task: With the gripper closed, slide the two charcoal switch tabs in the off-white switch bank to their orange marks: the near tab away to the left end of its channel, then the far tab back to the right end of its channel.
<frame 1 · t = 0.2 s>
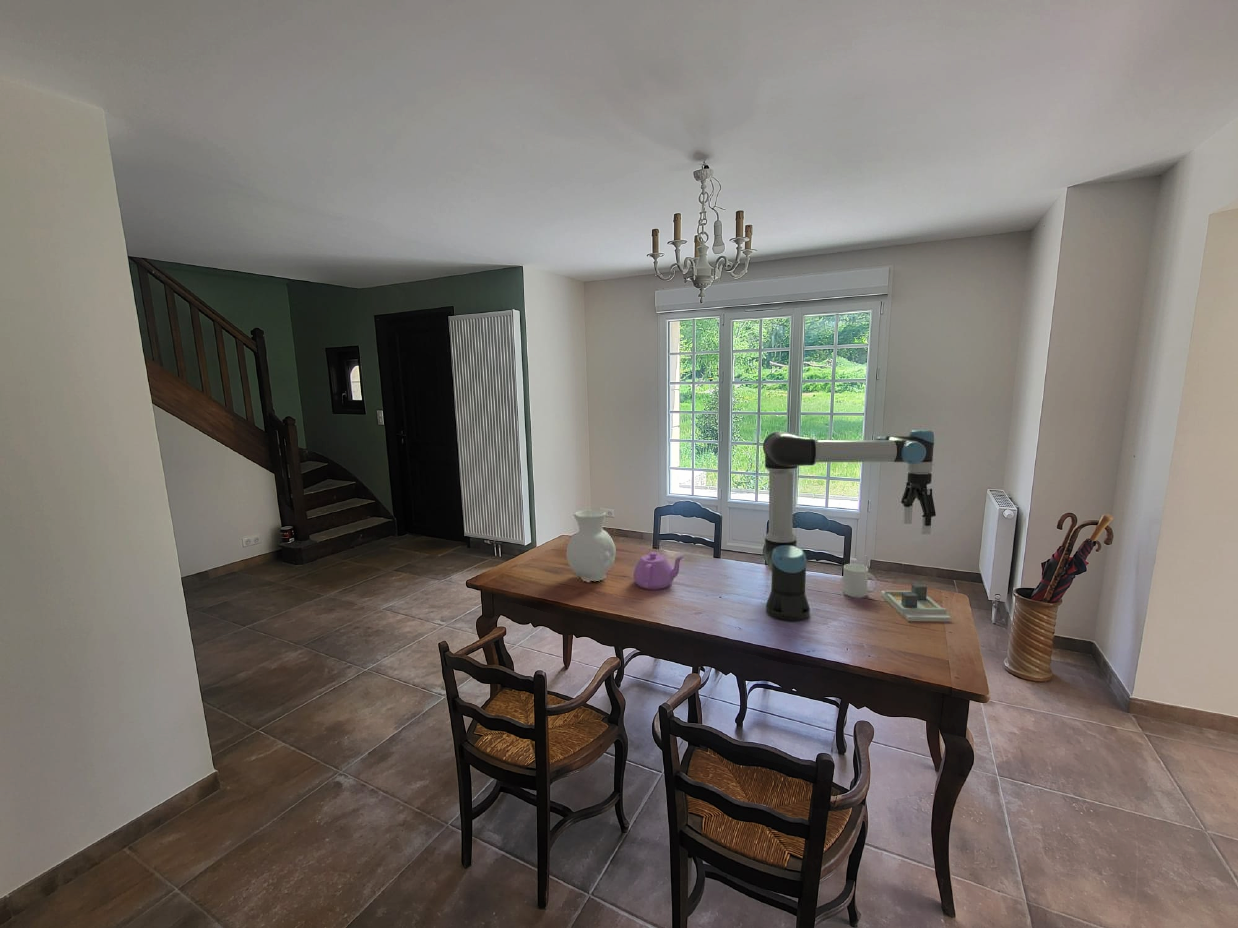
hand: (916, 528, 186), 27 cm above the table, fingers open, 13 cm apart
mug: (859, 595, 196), on the table
vase: (593, 579, 221), on the table
teapot: (659, 585, 212), on the table
switch bank: (913, 607, 183), on the table
tab a: (909, 600, 179), point 4 cm above the table, slide at -4.0 cm
tab b: (918, 591, 186), point 4 cm above the table, slide at 4.0 cm
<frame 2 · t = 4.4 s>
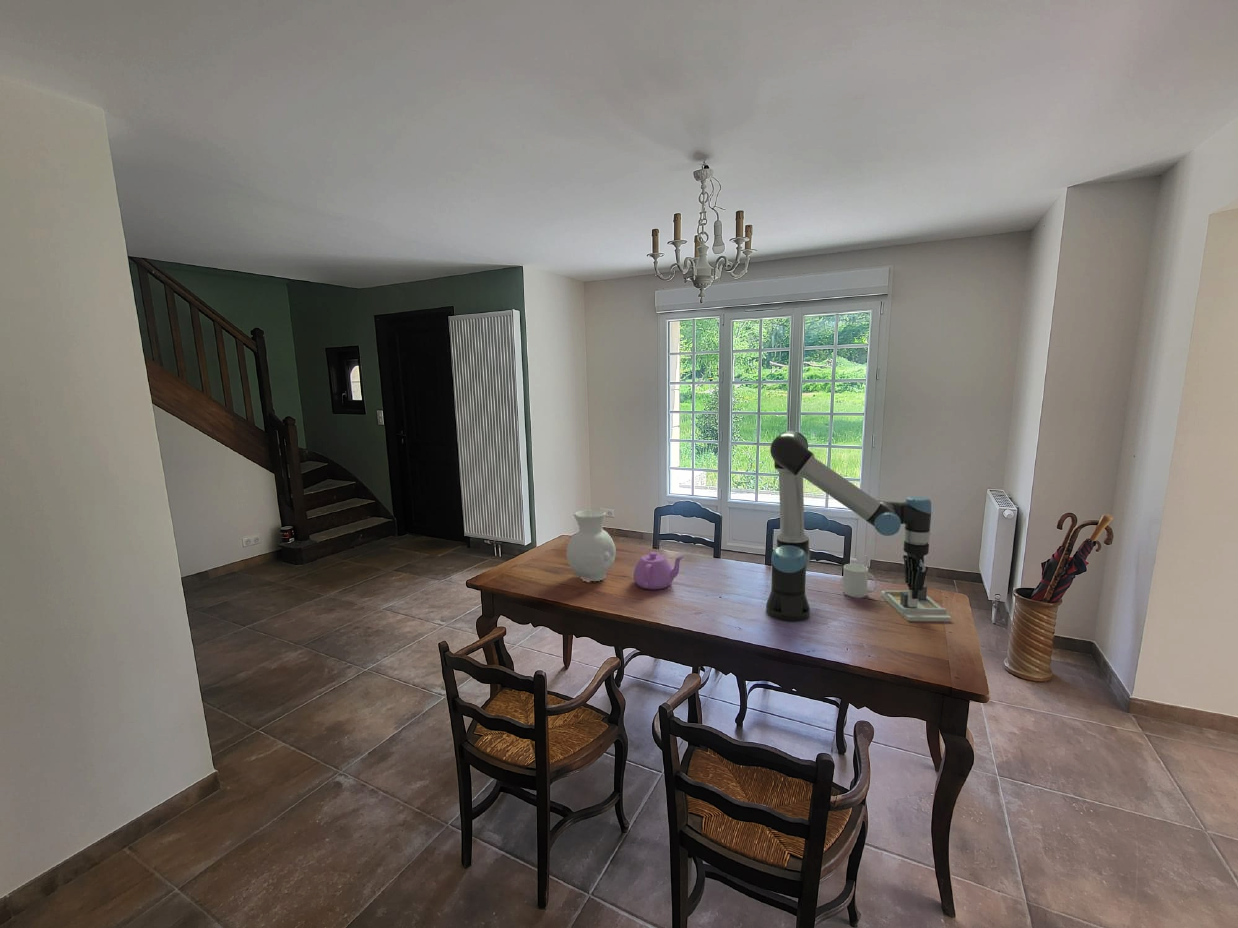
hand: (912, 605, 177), 3 cm above the table, fingers closed
tab a: (908, 599, 180), point 4 cm above the table, slide at -3.1 cm, touching gripper
everything else where it was.
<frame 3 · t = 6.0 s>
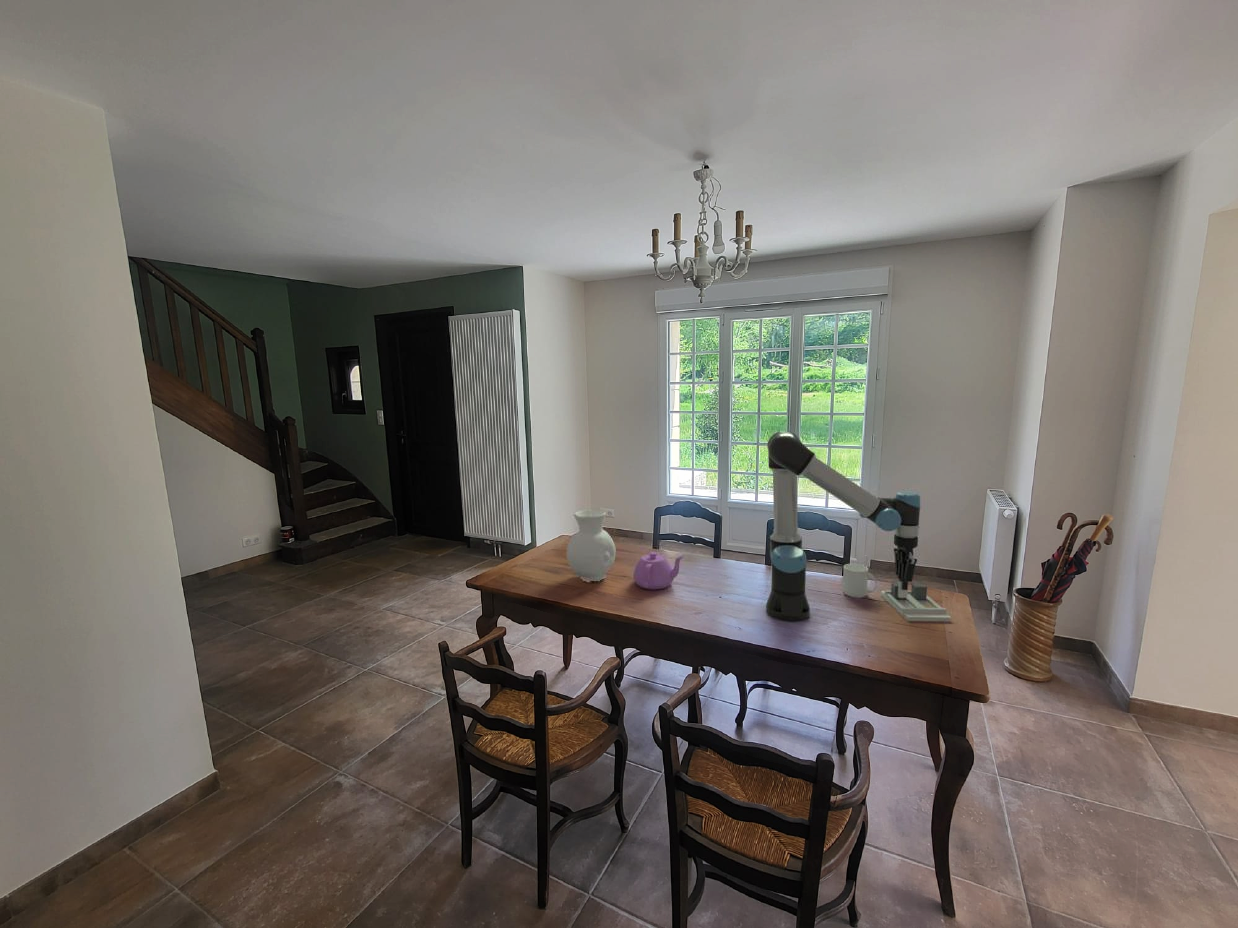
hand: (902, 596, 185), 3 cm above the table, fingers closed
tab a: (898, 590, 188), point 4 cm above the table, slide at 4.5 cm, touching gripper
everything else where it was.
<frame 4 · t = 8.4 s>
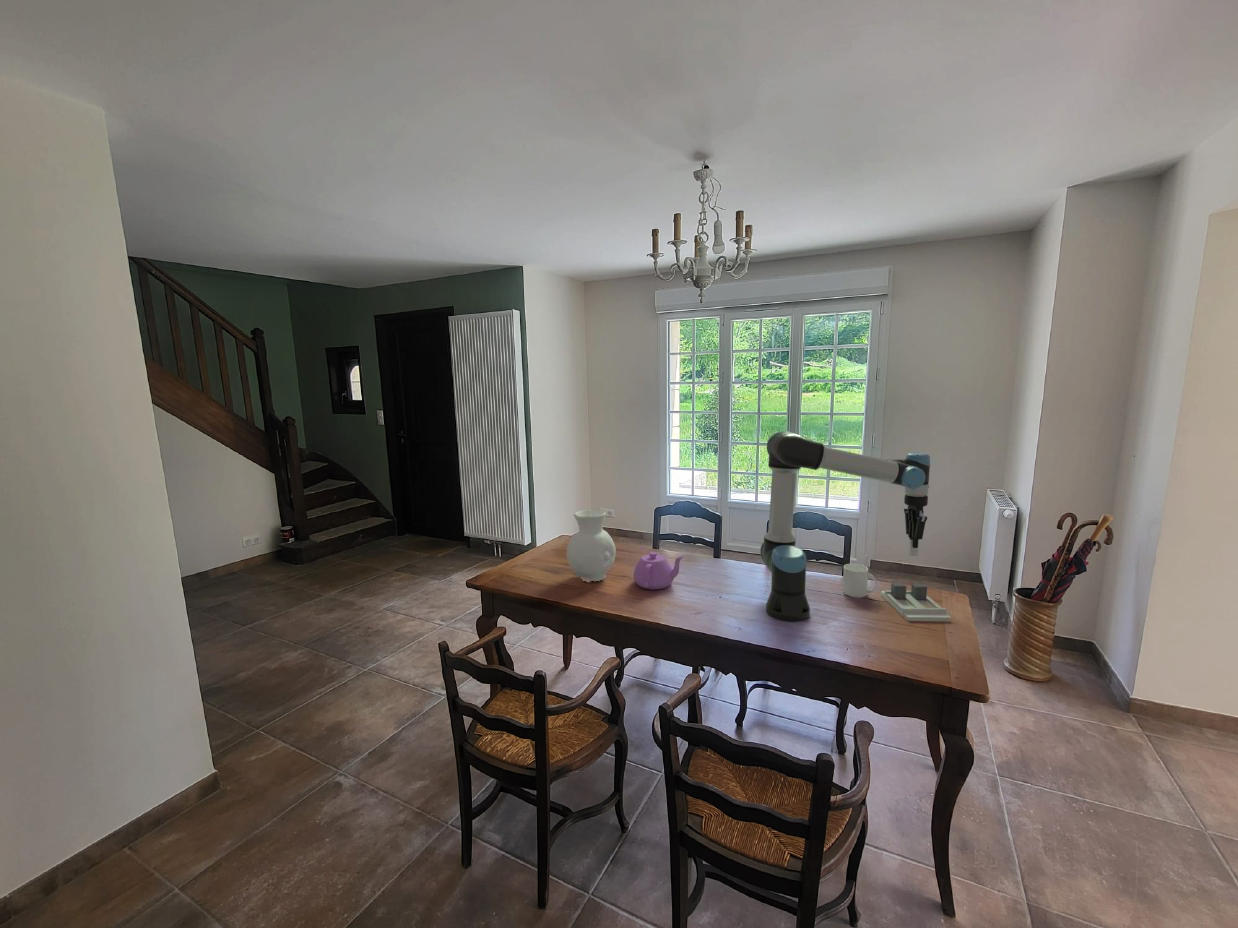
hand: (912, 555, 191), 16 cm above the table, fingers closed
tab a: (898, 590, 188), point 4 cm above the table, slide at 4.5 cm
everything else where it was.
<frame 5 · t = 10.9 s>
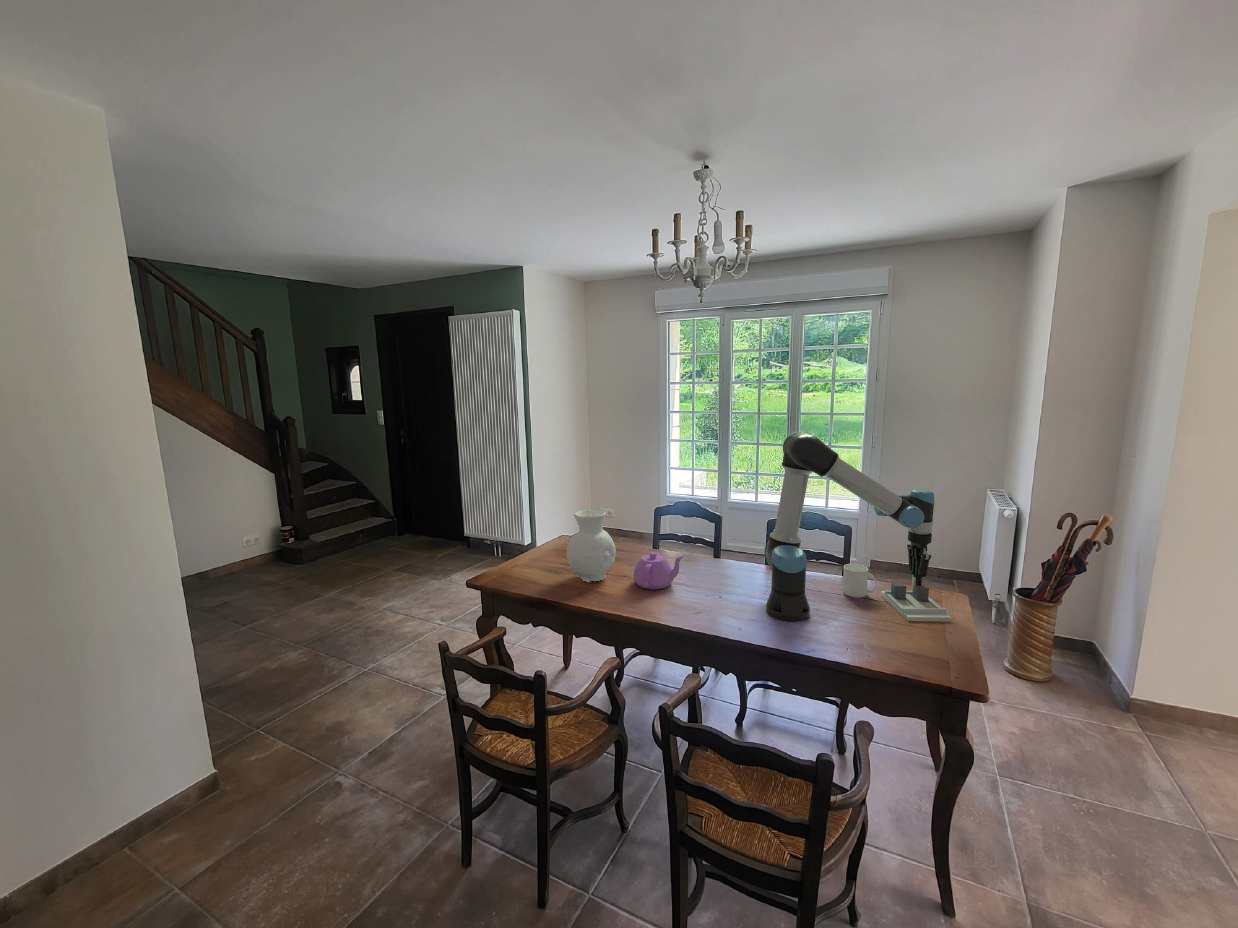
hand: (916, 591, 188), 3 cm above the table, fingers closed
tab b: (920, 593, 185), point 4 cm above the table, slide at 2.6 cm, touching gripper
everything else where it was.
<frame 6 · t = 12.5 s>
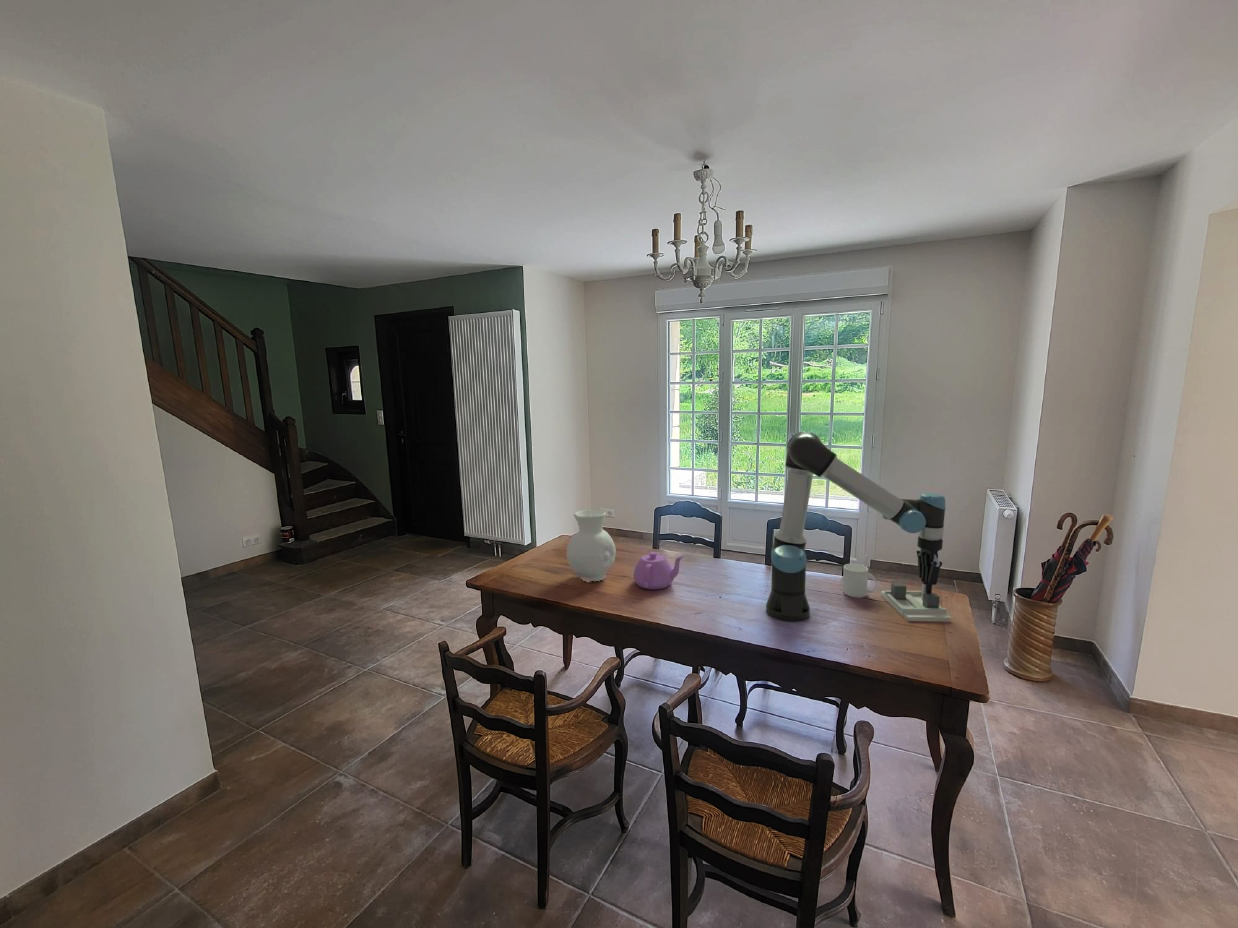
hand: (925, 600, 181), 3 cm above the table, fingers closed
tab b: (930, 601, 178), point 4 cm above the table, slide at -4.5 cm, touching gripper
everything else where it was.
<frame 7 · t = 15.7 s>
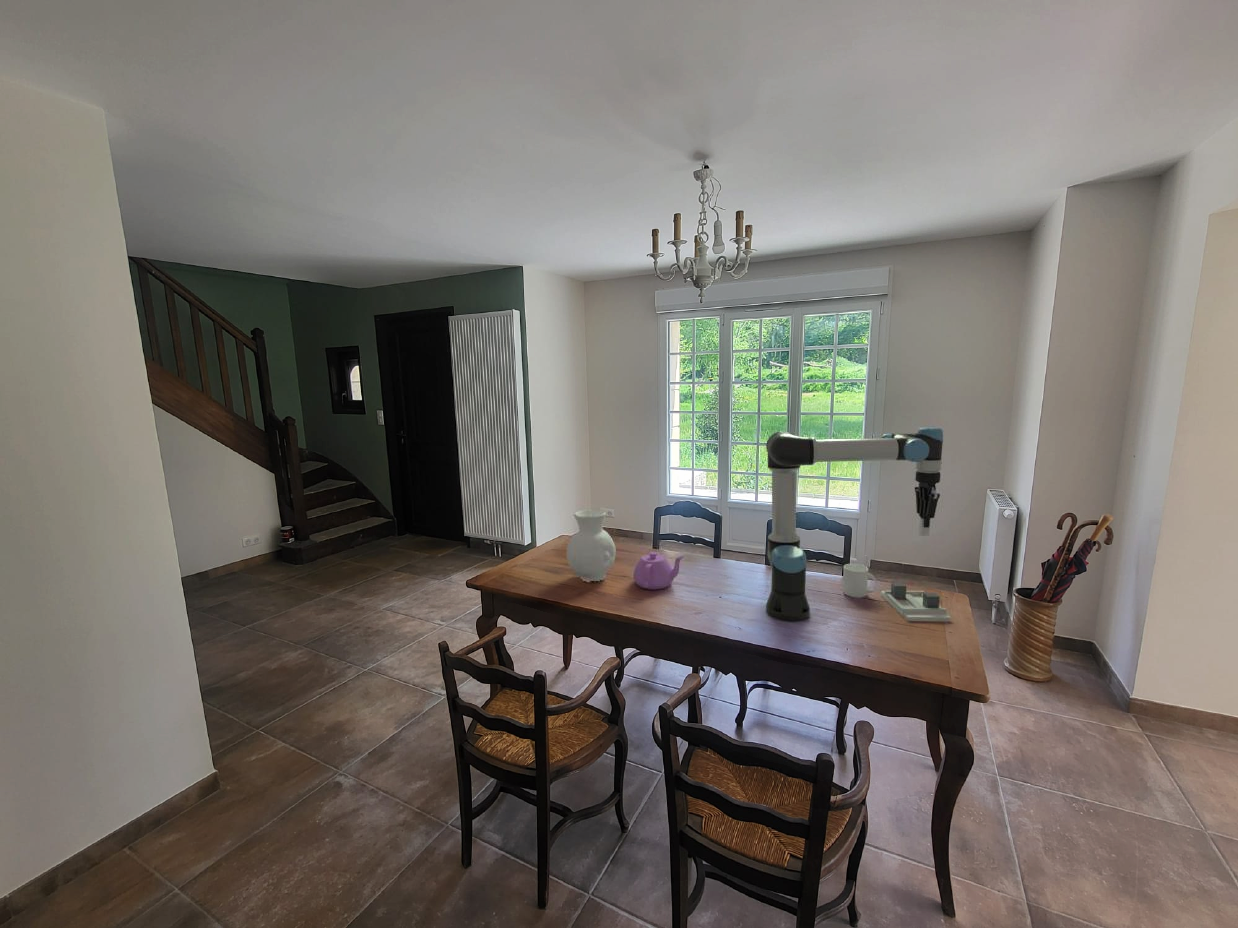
hand: (924, 535, 182), 26 cm above the table, fingers closed
tab b: (930, 601, 178), point 4 cm above the table, slide at -4.5 cm
everything else where it was.
at the end: tab a slide at 4.5 cm; tab b slide at -4.5 cm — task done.
